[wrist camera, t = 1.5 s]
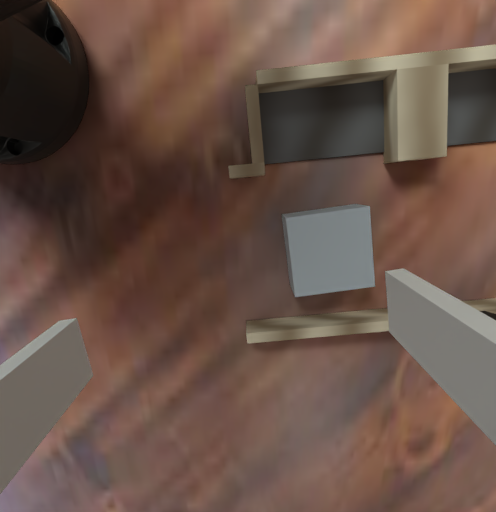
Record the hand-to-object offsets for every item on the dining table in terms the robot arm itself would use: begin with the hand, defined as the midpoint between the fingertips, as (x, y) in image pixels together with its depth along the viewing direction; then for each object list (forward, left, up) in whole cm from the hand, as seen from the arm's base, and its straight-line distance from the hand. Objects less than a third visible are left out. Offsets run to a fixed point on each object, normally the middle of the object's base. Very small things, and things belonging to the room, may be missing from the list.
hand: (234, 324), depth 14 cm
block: (+7, +4, -19) cm, 20 cm away
